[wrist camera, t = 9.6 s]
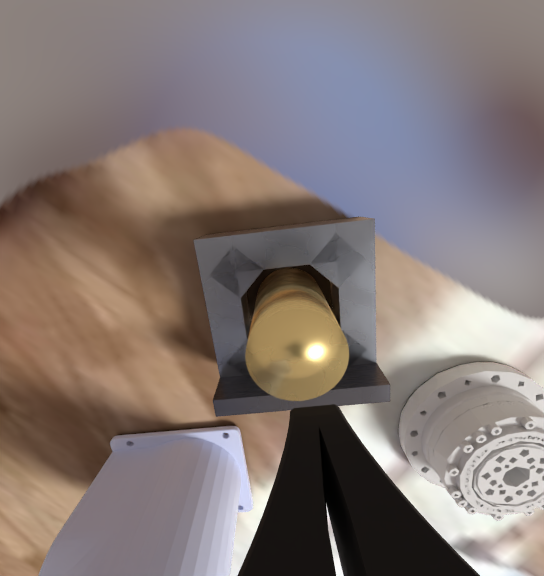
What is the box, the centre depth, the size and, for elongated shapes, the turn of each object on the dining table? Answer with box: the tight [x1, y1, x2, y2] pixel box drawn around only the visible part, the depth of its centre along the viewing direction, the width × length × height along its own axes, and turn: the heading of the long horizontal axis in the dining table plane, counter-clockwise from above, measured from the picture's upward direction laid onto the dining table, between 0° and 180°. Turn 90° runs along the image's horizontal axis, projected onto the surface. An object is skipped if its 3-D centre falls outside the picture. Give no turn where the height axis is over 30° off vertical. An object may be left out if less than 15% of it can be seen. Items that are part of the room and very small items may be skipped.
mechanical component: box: [398, 362, 544, 521], centre depth 18 cm, size 10×4×10 cm
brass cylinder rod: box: [245, 268, 349, 401], centre depth 14 cm, size 4×4×7 cm
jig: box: [193, 217, 390, 417], centre depth 15 cm, size 9×9×4 cm
